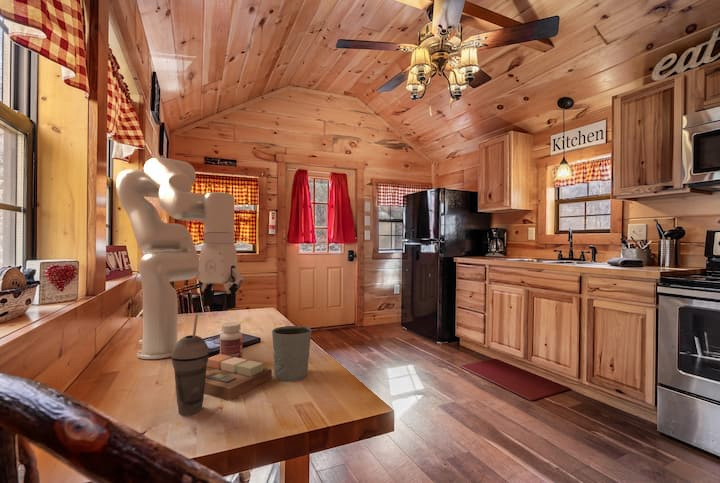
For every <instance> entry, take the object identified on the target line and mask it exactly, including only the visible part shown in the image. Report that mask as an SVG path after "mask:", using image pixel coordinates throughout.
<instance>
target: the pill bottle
mask: <svg viewBox="0 0 720 483" xmlns="http://www.w3.org/2000/svg"><path fill="white" fill-rule="evenodd" d="M241 330H242V329H241V323H240V322H236V321H232V322H229V321H228V322H224V323H221V333H220V335H219V354H222V355H227V356H232V358H233V357H236V358H241V359H243V332H241Z"/></svg>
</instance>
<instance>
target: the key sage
mask: <svg viewBox="0 0 720 483" xmlns="http://www.w3.org/2000/svg"><path fill="white" fill-rule="evenodd" d="M263 368H264V362H261V361H260V362H259V361H255V360H247V362H244V363H242V364H239V365H237V374H240V375H245V376H249V377H251V376H253V375H256V374H258V373H260V372H262V371H263Z"/></svg>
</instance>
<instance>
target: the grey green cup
mask: <svg viewBox="0 0 720 483" xmlns="http://www.w3.org/2000/svg"><path fill="white" fill-rule="evenodd" d="M312 331H313V330H312V329H311V328H310V327H307V326H301V325H287V326H286V325H285V326H279V327H275V328H273V329H272V331H271V333H272V335H271V336H272V345H273V346H272V347H273V348H272V349H273V362H274V365H273V366H274V368H273V370H274V378H275V379H276V380H278V381H281V382H297V381H301V380H304V379H305V378H306V377H308V374H309V373H308V372H309V371H308V370H309V357H310V349H311V348H310V347H311V339H312Z"/></svg>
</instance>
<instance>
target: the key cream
mask: <svg viewBox="0 0 720 483" xmlns="http://www.w3.org/2000/svg"><path fill="white" fill-rule="evenodd" d="M247 361H248V359H246V358H242V359H241V358H236V357H233V358H230V359H228V360H225V361H222V362H221V370H224V371H228V372H232V373H235V372H237V365H239V364H242V363H244V362H247Z"/></svg>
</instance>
